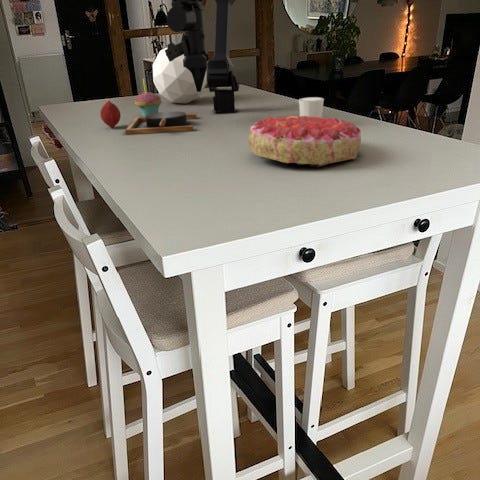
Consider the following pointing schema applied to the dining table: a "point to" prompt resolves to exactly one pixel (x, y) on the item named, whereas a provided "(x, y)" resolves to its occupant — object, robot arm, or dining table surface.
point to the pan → (166, 119)
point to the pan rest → (131, 127)
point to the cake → (305, 140)
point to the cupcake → (147, 102)
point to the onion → (110, 114)
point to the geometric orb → (174, 79)
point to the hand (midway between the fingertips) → (199, 91)
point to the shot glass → (311, 106)
